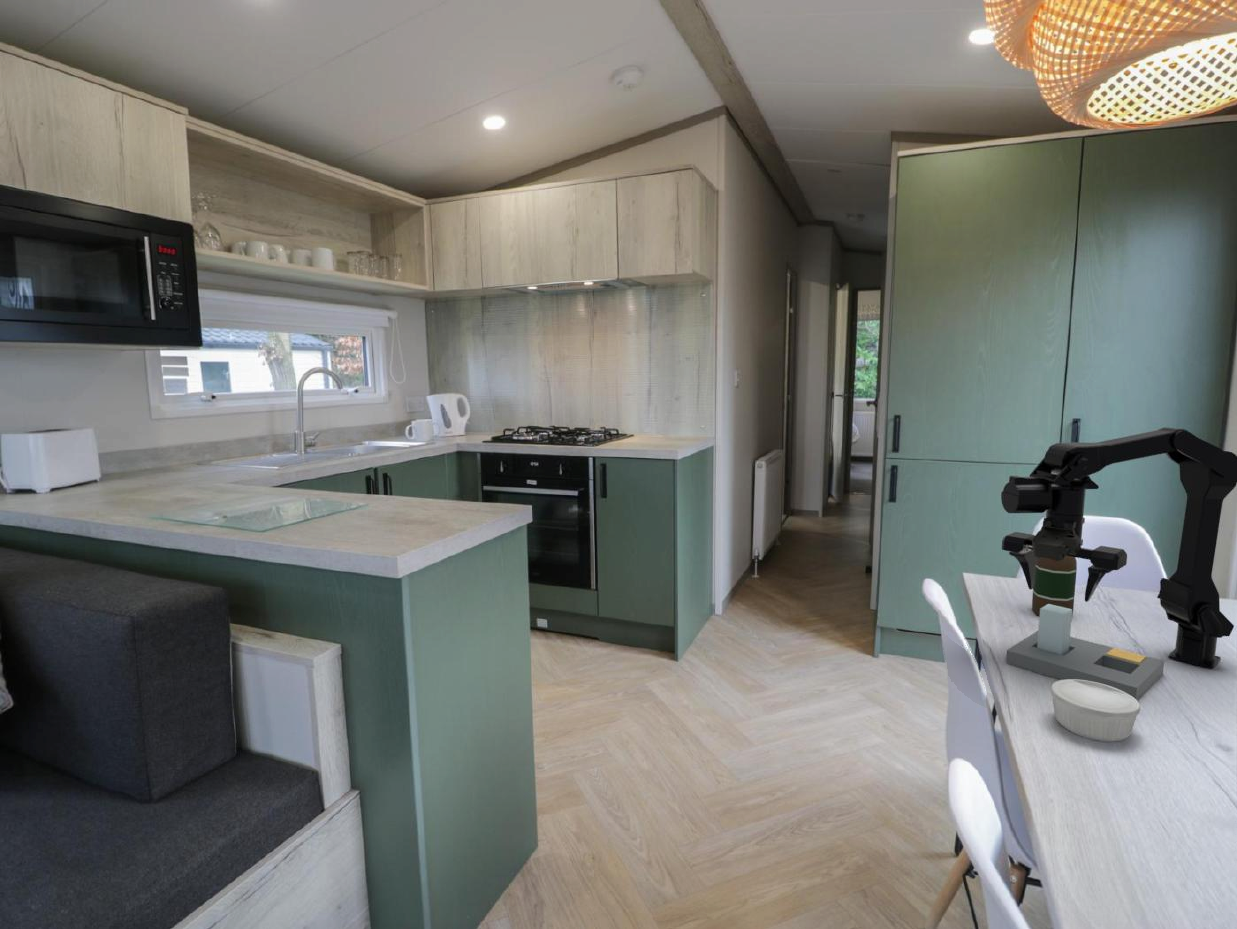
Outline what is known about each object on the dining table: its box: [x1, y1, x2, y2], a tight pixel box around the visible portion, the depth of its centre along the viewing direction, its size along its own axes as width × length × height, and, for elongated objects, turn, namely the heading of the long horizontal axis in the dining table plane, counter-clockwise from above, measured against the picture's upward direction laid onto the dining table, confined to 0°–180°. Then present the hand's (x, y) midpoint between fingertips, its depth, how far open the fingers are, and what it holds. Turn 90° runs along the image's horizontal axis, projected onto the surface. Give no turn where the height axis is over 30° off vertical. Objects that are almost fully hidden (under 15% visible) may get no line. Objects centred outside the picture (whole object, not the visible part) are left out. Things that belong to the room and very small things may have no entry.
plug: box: [1037, 604, 1073, 655], centre depth 128 cm, size 4×4×10 cm
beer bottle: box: [1031, 555, 1078, 617], centre depth 150 cm, size 8×8×24 cm
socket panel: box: [1005, 630, 1165, 701], centre depth 125 cm, size 16×20×3 cm
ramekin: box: [1050, 679, 1141, 743], centre depth 105 cm, size 11×11×5 cm
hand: (1058, 594), depth 127 cm, fingers open, 9 cm apart
